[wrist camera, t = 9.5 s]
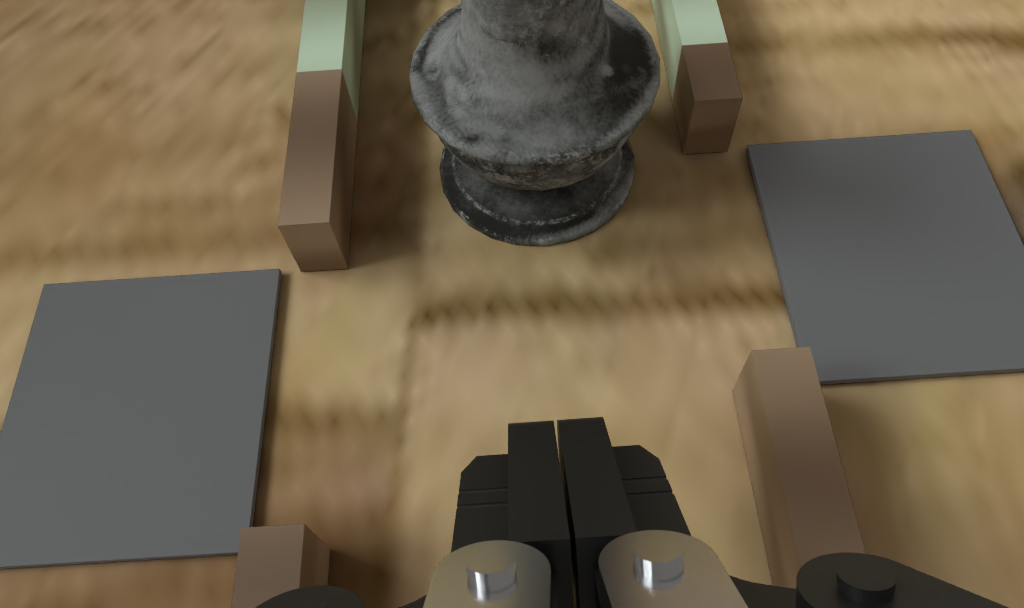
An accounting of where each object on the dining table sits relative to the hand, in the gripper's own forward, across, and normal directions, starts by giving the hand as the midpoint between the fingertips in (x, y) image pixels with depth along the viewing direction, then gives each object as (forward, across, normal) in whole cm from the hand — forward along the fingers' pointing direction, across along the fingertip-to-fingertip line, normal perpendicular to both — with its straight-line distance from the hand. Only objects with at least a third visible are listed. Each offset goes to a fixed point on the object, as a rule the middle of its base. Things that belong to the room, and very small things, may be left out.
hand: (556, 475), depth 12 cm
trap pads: (+7, 0, 0) cm, 7 cm away
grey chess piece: (+11, 0, -4) cm, 11 cm away
